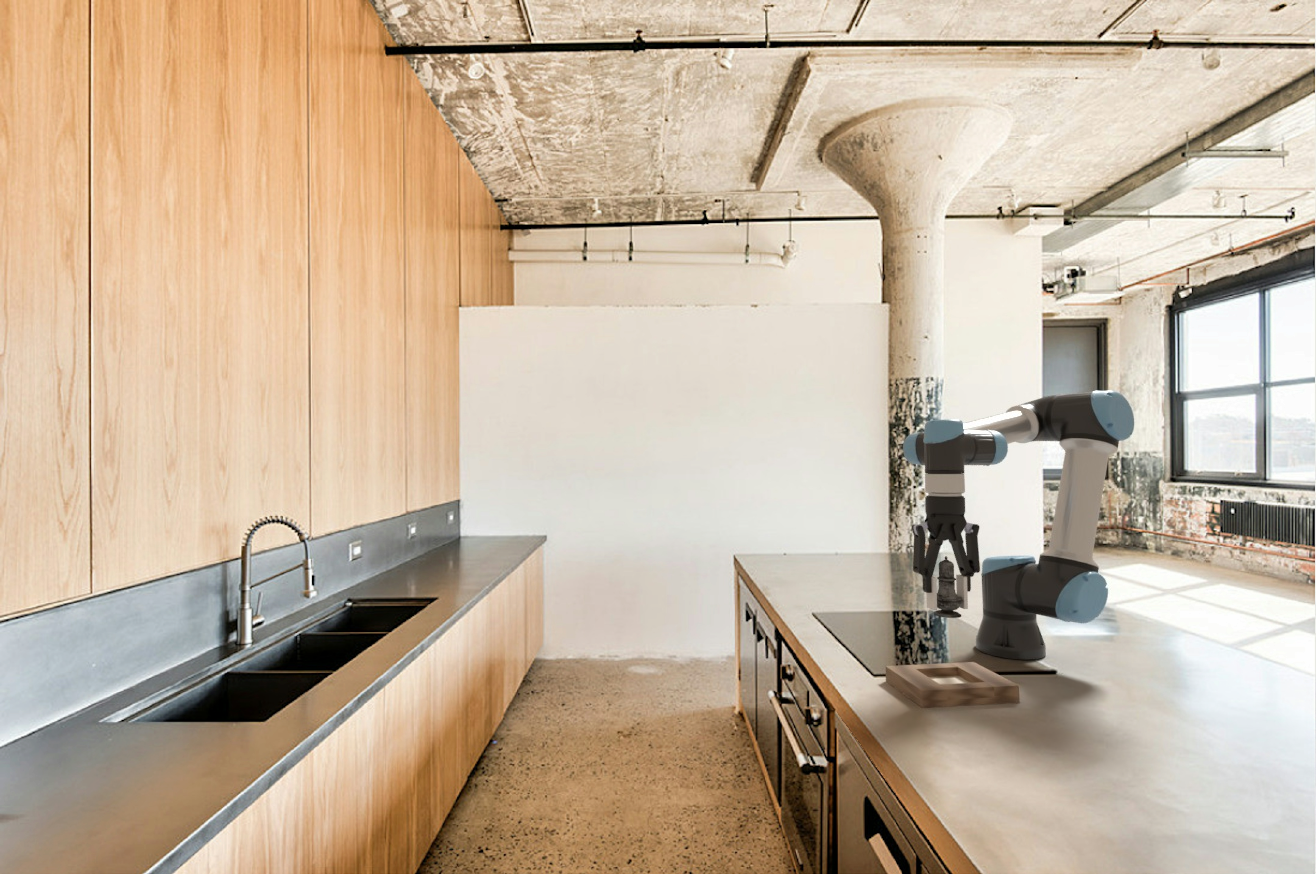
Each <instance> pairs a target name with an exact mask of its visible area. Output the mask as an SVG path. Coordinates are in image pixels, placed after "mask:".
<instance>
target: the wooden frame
mask: <svg viewBox="0 0 1316 874" xmlns="http://www.w3.org/2000/svg"><path fill="white" fill-rule="evenodd" d="M885 682H886V683H888V684H889V685H890V686H892V688H895V689H896V690H897V691H898V692H900V693H901V694H903V695H905V696H906V697H907V698H908V699H910V700H912V701H913V702H914V703H916V704H917V705H918V707H921V708H936V707H937V708H940V707H957V706H960V707H961V706H975V705H976V706H977V705H990V704H991V705H993V704H1010V703H1012V704H1013V703H1020V701H1021V699H1020V698H1021V696H1020V684H1017V683H1015V682H1013V681H1011V680H1009V679H1007V678H1005V677H1004V676H1002V675H999V674H998V673H996V672H994V671H992V670H990V669H988V668H986V667H984V666H983V665H980V664H978V663H976V662H975V661H965V662H964V661H963V662H946V663H945V662H943V663H925V664H924V663H923V664H903V665H901V664H900V665H885Z"/></svg>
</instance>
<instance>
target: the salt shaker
mask: <svg viewBox="0 0 1316 874" xmlns="http://www.w3.org/2000/svg"><path fill="white" fill-rule="evenodd" d="M936 578H937V581H938V588H937V610H934V611H933V613H932V614H933V615H934V616H936V617H939V618H945V619H957V618H961V617H962V614H960V613H959V612H958V611H956V610H958V609H960V604H961V600H962V599H963V598H962V597H960V596H958V595H957V591H956V589H955V588H956V587H955V586H956V577H955V564H954V562H953V561H951V560H949V559H948V556H947V555H945V556H944V559H943V560H941V561H940V562H939V563H938V576H937V577H936Z"/></svg>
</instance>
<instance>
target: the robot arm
mask: <svg viewBox="0 0 1316 874" xmlns="http://www.w3.org/2000/svg"><path fill="white" fill-rule="evenodd" d="M1134 417H1135V416H1134V412H1133V409H1132V407H1131V405H1130V403H1129V401H1128V399H1127V398H1126V397H1125V396H1124V395H1123V394H1121V392H1118V391H1116V390H1097V389H1096V390H1093V391H1085V392H1074V393H1065V394H1064V393H1063V394H1053V395H1052V394H1051V395H1047V396H1043V397H1041V398H1036V399H1033V400H1030V401H1027V402H1024V403H1021V404H1017V405H1013V406H1011V407H1010V408H1008V409H1007V410H1006V411H1005V412H1004V413H1003V412H1002V413H999V414H995V415H990V416H987V417H982V418H978V419H975V420H971V421H968V422H963V421H962V420H960V419H953V418H952V419H951V418H950V419H949V418H948V419H947V418H946V419H931V420H928V421H926V423H924V428H923V429H924V430H923V431H919V432H916V433H914V432H913V433H910V434H908V436H906V438H905V439H904V441H903V445H902V450H903V456H904V458H905V459H906V461H907V462H908V463H909V464H912V465H917V466H918V465H919V466H924V491H925V492H926V493H927V494H928V495H925V498H924V503H925V506H924V507H925V515H926V517H925V520H923V521H924V522H922V523H919V524H912V525H911V530H912V533H913V557H912V571H913V572H914V573H916V574H918V575H920V576H922V591H923V592H924V593H925V594H926V608H927V609H929V610H932V611H937V610H938V608H937V593H938V584H937V582H938V579H937V577H936V576H934V571H935V568H936V564H937V561H938V558H939V557H938V556H939V554H940V549H941V546H943V544H944V542H946V541H948V542H949V544H950V546H951V549H952V551H953V555H954V558H955V560H956V565H957V567H958V570H959V573H960V574H956V576H955V578H956V580H955V586H956V587H955V588H956V594H957V595H958V596H960V597H962V598H963V599H962V600H961V604H960V607H959V609H960V608H961V609H963V610H968V609H969V605H968V604H969V601H968V596H969V595H968V592H971V590H972V585H971V584H972V583H971V582H972V581H971V579H972V577H974V576H975V573H977V574H978V573H980V572H981V575H980V576H981V590H982V591H981V595H982V619H981V622H980V624H979V628H978V631H977V634H976V636H975V648H976V649H977V650H978V651H979V652H981V653H984V654H987V655H990V656H995V657H999V658H1004V659H1011V660H1012V659H1013V660H1027V661H1028V660H1039V659H1042V658H1045V657H1046V655H1047V647H1046V643H1045V640H1044V638H1043V635H1042V632H1041V630H1040V627H1039V625H1038V622H1037V621H1038V620H1037V616H1038V615H1039V616H1042V617H1043V616H1044V617H1047V618H1052V619H1055V620H1060V621H1062V622H1066V623H1076V624H1087V623H1091V622H1092V621H1094V620H1095V619H1096V618H1098V617H1099V616H1100V615H1101V613H1102V612H1103V611H1104V609H1105V607H1106V604H1107V601H1108V595H1109V588H1108V586H1107V585H1108V583H1107V581H1106V578H1105V577H1104V576H1103V575H1102V574H1100V573H1099V568H1100V566H1099V565H1098V563H1097V562H1096V560H1094V558H1093V554H1094V551H1095V550H1094V549H1095V542H1096V535H1097V531H1098V523H1099V517H1100V512H1101V505H1102V498H1103V493H1104V489H1105V488H1104V487H1105V486H1104V485H1105V482H1106V481H1105V480H1106V479H1105V478H1106V474H1107V468H1108V462H1109V457H1111V456H1112V455H1114V454H1115V453H1117V451H1118V449H1119V443H1120V441H1122V442H1124V441H1125V440H1128V439H1129V438H1130V437H1131V436H1132V434H1133V432H1134V430H1135V429H1134V428H1135V418H1134ZM1033 442H1059V446H1060V447H1061V448H1062V450H1064V458H1063V463H1062V470H1061V473H1060V474H1061V476H1060V480H1059V485H1058V493H1057V499H1056V504H1055V511H1054V515H1053V520H1052V521H1053V522H1052V528H1051V532H1050V540H1049V545H1048V549H1047V550H1045V551H1044V552H1041V553H1040V554H1039V559H1038V563H1037V560H1036V558H1035V556H1033V555H1003V556H1002V555H1000V556H989V557H985V559H984V560H983V561H982V565H981V564H980V563H981V562H980V552H979V539H978V537H979V536H978V535H979V531H980V525H979V524H976V523H971V522H967V520H966V518H965V513H966V497H965V496H964V495H963V494H964V493H965V492H966V483H965V481H966V480H965V466H983V467H984V466H987V467H989V466H993V465H998V464H1000V463H1001V462H1003V460H1005V458H1006V457H1007V454H1008V452H1009V451H1008V450H1009V449H1008V448H1009V444H1012V443H1018V444H1027V443H1033ZM927 531H928V532H929V536H928V540H927V539H926V538H927V537H926V534H927ZM963 532H965V536H964V538H965V542H964V540H963V535H962V533H963ZM926 540H927V541H928V546H927V550H926V542H927V541H926ZM964 543H965V546H964Z"/></svg>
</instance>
